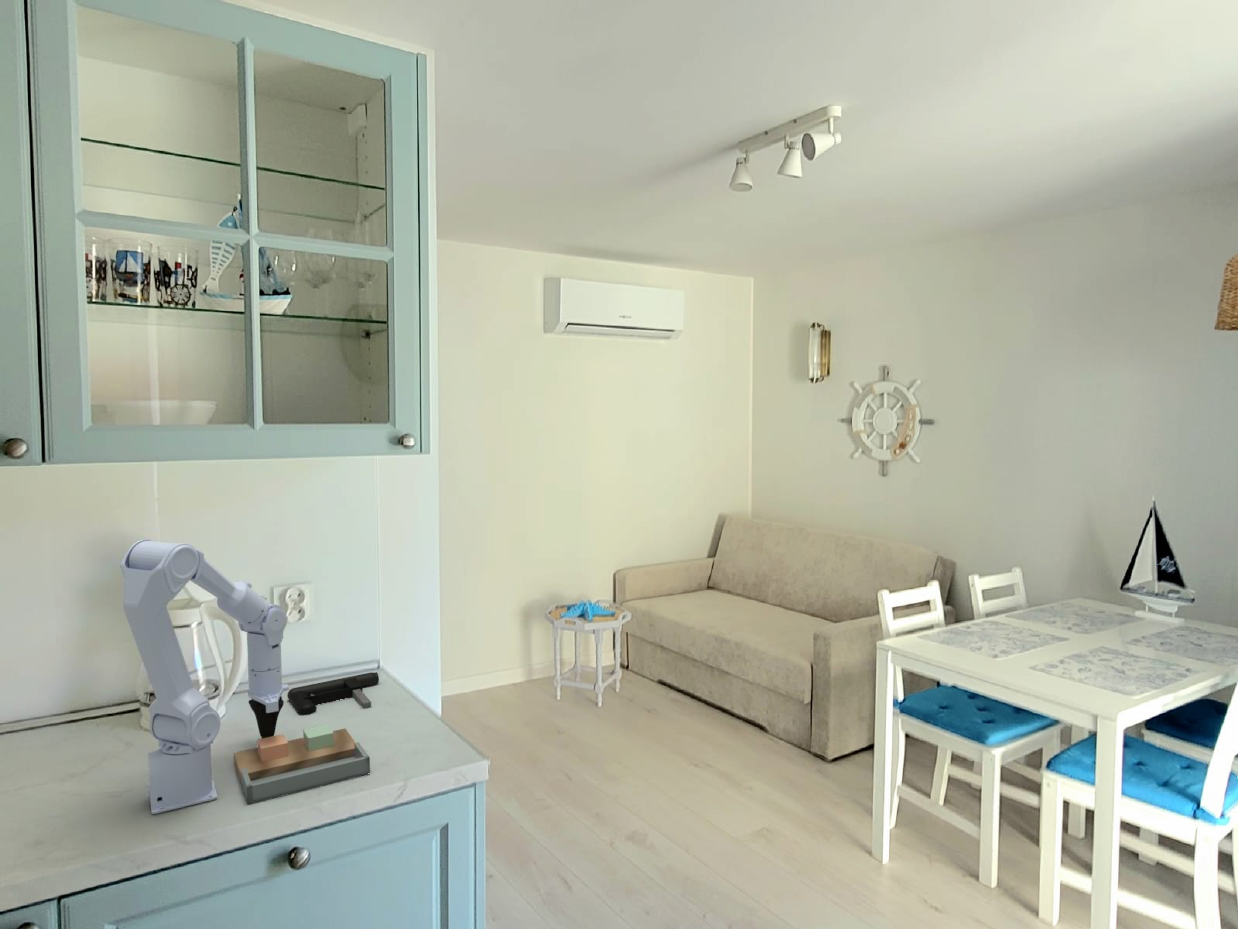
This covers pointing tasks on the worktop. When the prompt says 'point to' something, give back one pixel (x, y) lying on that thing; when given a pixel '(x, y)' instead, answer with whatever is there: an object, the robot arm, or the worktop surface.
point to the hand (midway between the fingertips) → (267, 736)
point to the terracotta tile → (272, 747)
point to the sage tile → (318, 737)
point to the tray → (305, 777)
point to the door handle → (332, 692)
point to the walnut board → (294, 757)
